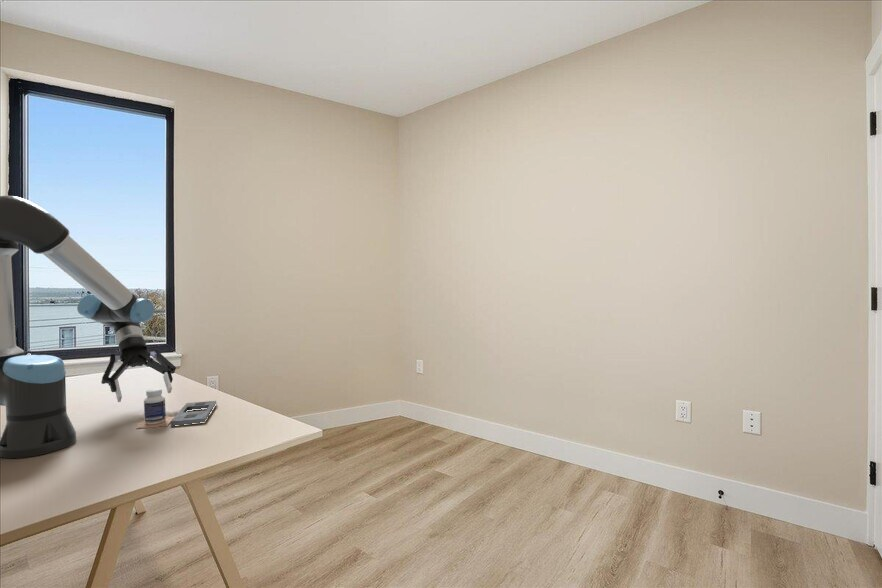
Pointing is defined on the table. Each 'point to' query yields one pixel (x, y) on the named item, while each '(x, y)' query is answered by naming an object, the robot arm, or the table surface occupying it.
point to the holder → (193, 413)
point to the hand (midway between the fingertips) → (145, 395)
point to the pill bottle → (154, 407)
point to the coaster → (155, 424)
